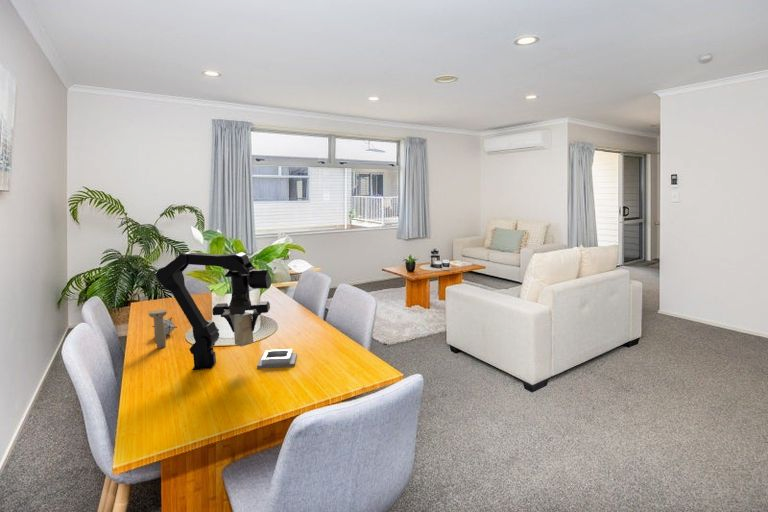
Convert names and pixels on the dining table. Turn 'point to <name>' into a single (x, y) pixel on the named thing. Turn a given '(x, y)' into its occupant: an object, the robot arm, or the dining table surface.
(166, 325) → the grey spiky ball
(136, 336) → the dining table surface
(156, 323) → the handle
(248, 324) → the box
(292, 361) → the socket
